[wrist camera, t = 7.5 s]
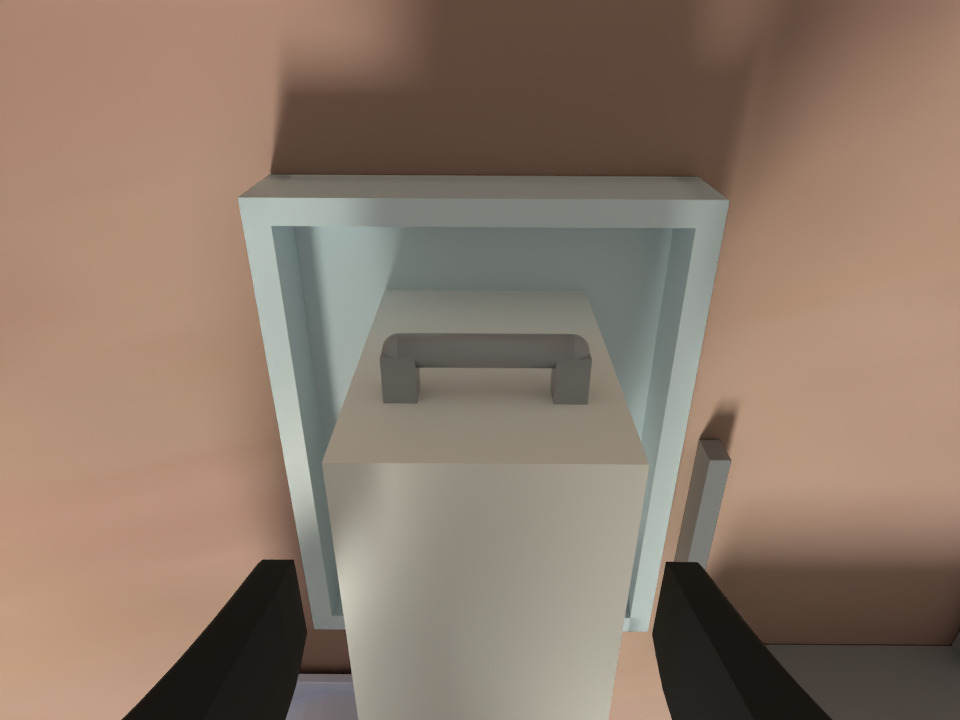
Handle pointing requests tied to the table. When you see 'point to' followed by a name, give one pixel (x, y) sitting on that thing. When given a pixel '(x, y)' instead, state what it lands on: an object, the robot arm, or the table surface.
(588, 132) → the table surface
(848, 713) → the dock
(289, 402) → the tray
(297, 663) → the robot arm
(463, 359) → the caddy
